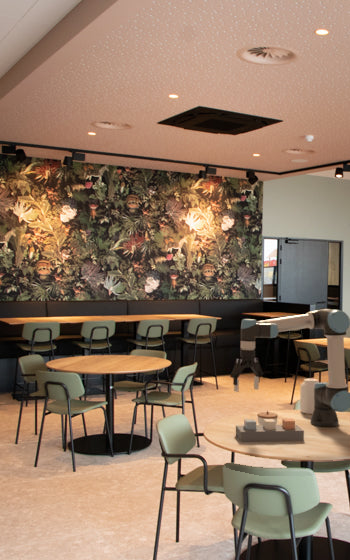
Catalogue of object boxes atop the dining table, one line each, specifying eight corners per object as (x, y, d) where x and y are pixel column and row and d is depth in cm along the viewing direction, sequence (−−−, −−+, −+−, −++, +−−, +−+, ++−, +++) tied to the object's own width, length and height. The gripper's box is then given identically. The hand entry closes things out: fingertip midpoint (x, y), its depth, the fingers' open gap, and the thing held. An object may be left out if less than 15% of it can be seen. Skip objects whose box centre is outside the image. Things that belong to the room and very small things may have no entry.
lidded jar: (277, 431, 308) (277, 414, 308) (256, 430, 310) (256, 412, 310) (277, 426, 319) (277, 409, 318) (257, 425, 321) (258, 408, 321)
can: (323, 414, 348) (324, 381, 348) (302, 414, 348) (303, 380, 348) (318, 409, 361) (318, 377, 361) (298, 409, 361) (298, 377, 360)
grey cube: (253, 429, 298) (253, 419, 298) (256, 431, 293) (256, 421, 293) (244, 429, 297) (244, 419, 297) (246, 431, 292) (246, 421, 292)
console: (296, 434, 304) (296, 424, 304) (303, 440, 292) (303, 430, 292) (235, 435, 300) (235, 425, 300) (241, 441, 288) (241, 431, 288)
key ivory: (272, 428, 299) (272, 419, 299) (275, 431, 294) (275, 421, 294) (263, 428, 298) (263, 419, 298) (265, 431, 293) (266, 421, 293)
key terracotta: (291, 428, 300) (291, 418, 300) (294, 431, 295) (295, 421, 295) (282, 428, 299) (282, 418, 299) (285, 431, 294) (285, 421, 294)
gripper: (260, 347, 311) (259, 387, 311) (224, 349, 297) (222, 391, 297) (270, 348, 305) (269, 389, 305) (233, 351, 290) (232, 393, 291)
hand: (246, 390), depth 301 cm, fingers open, 13 cm apart
